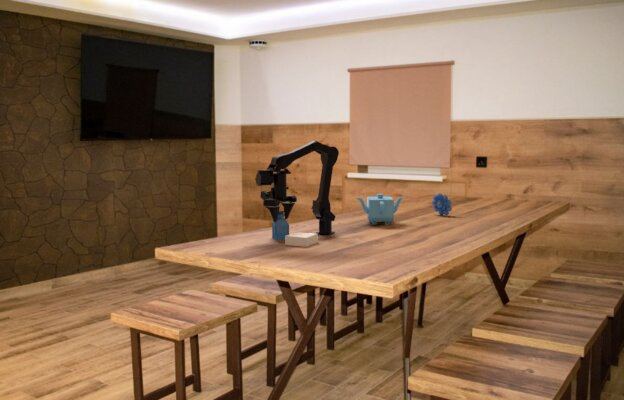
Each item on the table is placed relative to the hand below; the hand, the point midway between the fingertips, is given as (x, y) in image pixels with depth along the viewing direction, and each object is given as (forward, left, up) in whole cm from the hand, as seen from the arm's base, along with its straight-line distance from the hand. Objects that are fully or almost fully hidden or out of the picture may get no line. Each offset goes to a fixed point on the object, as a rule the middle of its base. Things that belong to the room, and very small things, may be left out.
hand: (280, 220), depth 259 cm
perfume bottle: (0, 0, -8) cm, 8 cm away
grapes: (-96, +42, -8) cm, 105 cm away
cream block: (+6, +14, -8) cm, 17 cm away
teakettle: (-59, +22, -8) cm, 63 cm away
